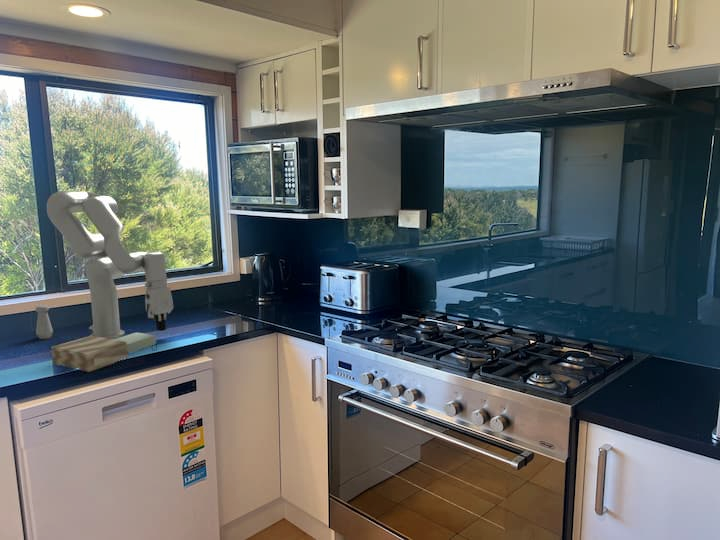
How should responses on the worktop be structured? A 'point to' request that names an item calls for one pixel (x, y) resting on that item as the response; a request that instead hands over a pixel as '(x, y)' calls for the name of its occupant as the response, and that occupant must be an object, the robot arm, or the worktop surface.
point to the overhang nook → (89, 353)
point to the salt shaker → (43, 323)
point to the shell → (137, 341)
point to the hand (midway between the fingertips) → (161, 330)
